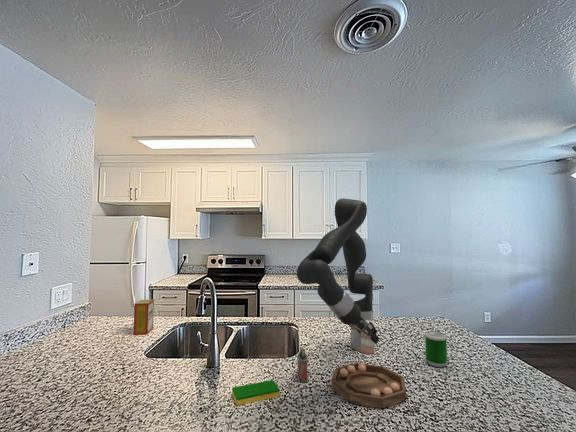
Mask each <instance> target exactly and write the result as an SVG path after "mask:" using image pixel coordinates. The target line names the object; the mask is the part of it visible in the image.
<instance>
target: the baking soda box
mask: <svg viewBox="0 0 576 432" xmlns="http://www.w3.org/2000/svg"><path fill="white" fill-rule="evenodd" d="M154 309H155V299H140V300H139V301H136V302H134V308H133V310H134V311H133V333H132V334H133V335H132V336H148V334H149V333H151V332H152V330H154V312H155V310H154Z"/></svg>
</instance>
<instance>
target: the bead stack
mask: <svg viewBox="0 0 576 432" xmlns="http://www.w3.org/2000/svg"><path fill="white" fill-rule="evenodd" d="M365 321H366V322H368V323H369V322H372V323H373V325H374V326H375V321H374V320H373V321H371V320H365ZM364 328H365V327H364ZM362 330H364V329H362ZM367 332H368V331H367ZM375 348H376V347H375V343H374V342H373V341H372V340H371V339H370V337H368V336H367V335H366V334H364V333H362V332H361V351H360V352H361V353H362V355H367V356H372V355H375Z"/></svg>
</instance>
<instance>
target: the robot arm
mask: <svg viewBox="0 0 576 432" xmlns="http://www.w3.org/2000/svg"><path fill="white" fill-rule="evenodd" d="M367 213H368V205H367V203H366V202H364V201H362V200H358V199H352V198H339V199H337V201H336V202H335V203H334V218H335V222H336V225H337V227H336V228H333V229H332V230H330V231H328V232H327V233H326V234H325V235H324V236H322V238H321V240H320V241H318V244H317V245H316V247H315V248H314V249H313V250H312V251H311V252H310V253H309V254H307V256H306V257H304V258H303V259H302V260H301V261H300V263H299V265H298V267H297V270H296V277H297V279H298V281H299V282H300V283H302V284H303V285H313V284H314V285H315V284H318V287H317V294H318V297H320V298H321V300H322V301H323V302H324V303H325V304H326V305H327V306H328V308H329V310H330V311H331V312H332V313H333V314H334V315H335V316H336V317H337V318H338V319H339V321H340V322H341V324H343V325H348V326H349V328H350V347H351V348H352V349H353V350H355V351H357V352H361V332H362V333H364V334H366V335H367V336H368V337H370V339H371V340H372V341H373V342H374V344H376V345H377V344H378V343H379V341H380V337H379V336H378V335H377V334H378V330H377V328H376V327H375V324H374V325H373V323H372V322H369V323H368V322H366V321H365V320H371V321H373V322H374V320H373V319H374V317H373V315H374V314H373V292H374V291H373V290H374V289H373V288H374V279H373V275H372V274H371V273H361V272H360V273H357V271H358V270H359V269H360V268H361V267H362V265H363V264H364V262H365V261H366V259H367V250H366V244H365V241H364V240H363V238H362V236H361V235H360V234H359V233H358V232H357V230H359V228H360V227H361V226H362V224H363V223H364V222H365V220H366V217H367ZM341 249H342V253H343V254H342V255H343V258H344V262H345V267H346V274H347V285H348V290H349V292H350V293H351V294H355V295H357V294H358V295H364V297H362V298H361V299H358V300H355V301H354V299H353V298H352V297H351V296H350V294H348V292H346V291H345V290H344V289H343V288H342V287H341V285H340V284H339V283H338V282H337V279H336V278H335V275H334V274H333V271H332V269H331V267H330V264H331V263H333V262H334V260H335V259H336V257H337V255H338V254H339V253H340V251H341ZM364 327H365V328H364ZM362 329H364V330H362ZM367 331H368V332H367Z"/></svg>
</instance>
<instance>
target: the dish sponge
mask: <svg viewBox="0 0 576 432" xmlns="http://www.w3.org/2000/svg"><path fill="white" fill-rule="evenodd" d="M231 389H232V390H231V392H232V393H231V395H232V397H233V400H234V402H235V405H237V406H240V405H245V404H249V403H254V402H259V401H265V400H268V399H273V398H277V397H280V394H281V393H280V388H279V386H278V385H277V384H276V382H275V381H274V380H273V379H270V380H265V381H264V380H263V381H260V382H256V383H248V384H245V385H240V386H233V387H231Z"/></svg>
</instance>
